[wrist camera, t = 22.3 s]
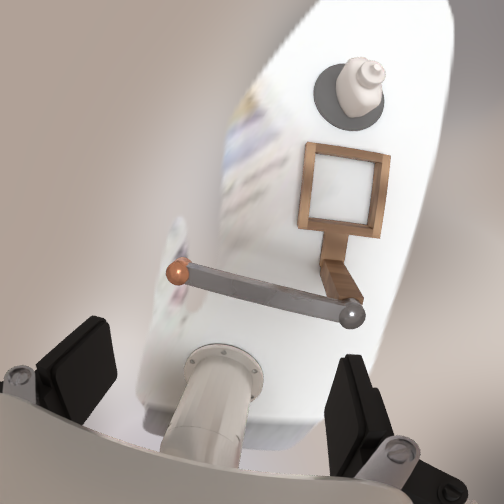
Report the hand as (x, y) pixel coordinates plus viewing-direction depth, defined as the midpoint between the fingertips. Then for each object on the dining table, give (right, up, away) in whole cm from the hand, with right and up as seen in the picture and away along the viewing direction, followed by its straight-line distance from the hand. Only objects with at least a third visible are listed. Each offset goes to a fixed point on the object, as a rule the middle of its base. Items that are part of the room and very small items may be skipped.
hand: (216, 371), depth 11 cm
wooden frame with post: (+12, +9, +26) cm, 30 cm away
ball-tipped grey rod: (+3, +1, +16) cm, 16 cm away
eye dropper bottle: (+13, +24, +21) cm, 34 cm away
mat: (+13, +24, +21) cm, 35 cm away
